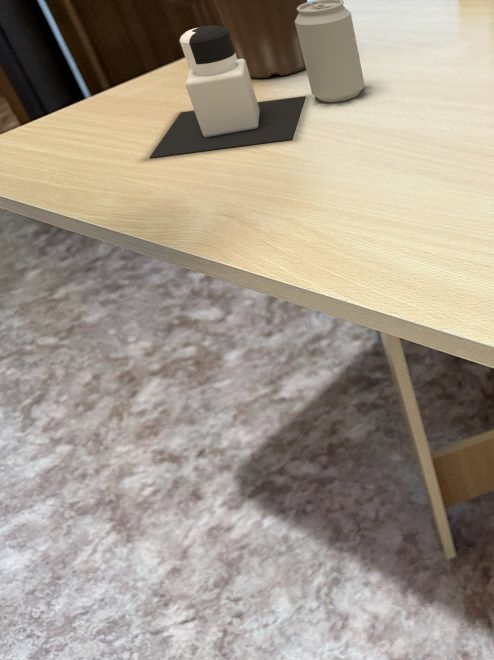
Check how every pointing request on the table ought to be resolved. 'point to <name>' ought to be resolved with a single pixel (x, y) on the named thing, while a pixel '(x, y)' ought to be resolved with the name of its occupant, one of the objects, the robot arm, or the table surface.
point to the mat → (272, 127)
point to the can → (329, 50)
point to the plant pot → (264, 34)
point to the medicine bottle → (218, 82)
